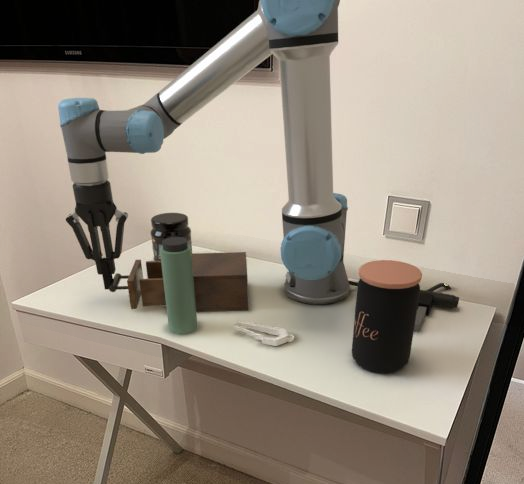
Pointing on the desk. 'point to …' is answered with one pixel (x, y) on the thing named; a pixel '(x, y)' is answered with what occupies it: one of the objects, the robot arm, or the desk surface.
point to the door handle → (432, 299)
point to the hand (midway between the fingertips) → (109, 286)
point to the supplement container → (168, 230)
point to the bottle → (178, 285)
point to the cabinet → (220, 281)
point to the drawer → (143, 284)
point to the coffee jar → (385, 315)
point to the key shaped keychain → (269, 329)
